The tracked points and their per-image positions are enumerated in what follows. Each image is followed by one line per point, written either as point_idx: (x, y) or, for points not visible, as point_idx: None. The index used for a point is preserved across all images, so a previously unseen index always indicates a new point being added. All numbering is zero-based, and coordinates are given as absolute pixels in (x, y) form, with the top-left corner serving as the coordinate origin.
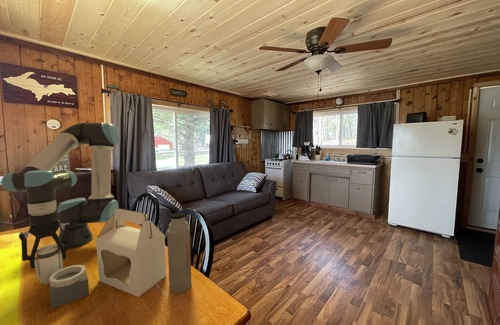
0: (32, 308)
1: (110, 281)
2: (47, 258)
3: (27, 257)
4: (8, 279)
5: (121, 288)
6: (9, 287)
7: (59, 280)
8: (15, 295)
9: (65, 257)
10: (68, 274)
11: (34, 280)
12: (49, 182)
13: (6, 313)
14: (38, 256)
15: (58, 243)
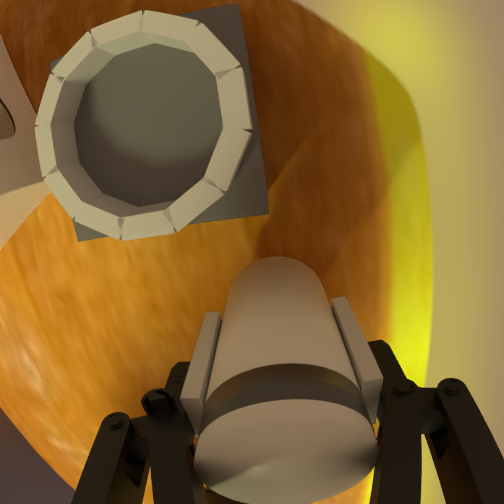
0: (329, 102)
1: (16, 102)
2: (285, 358)
3: (434, 406)
4: None
5: (4, 54)
6: (416, 353)
7: (172, 31)
8: (403, 277)
9: (175, 369)
10: (151, 183)
11: None
12: None
13: (417, 141)
14: (360, 400)
15: (175, 490)
